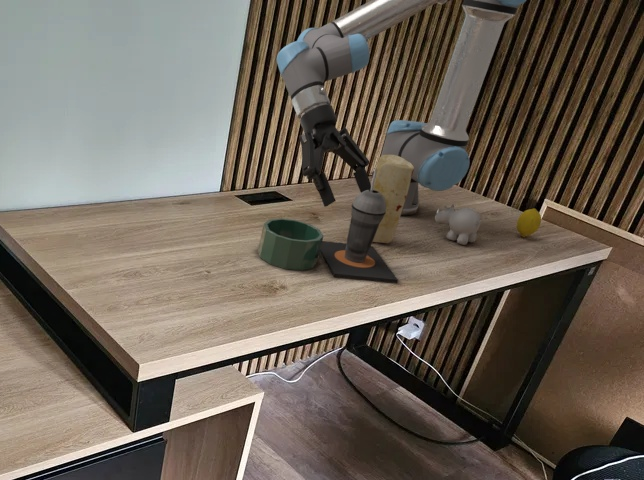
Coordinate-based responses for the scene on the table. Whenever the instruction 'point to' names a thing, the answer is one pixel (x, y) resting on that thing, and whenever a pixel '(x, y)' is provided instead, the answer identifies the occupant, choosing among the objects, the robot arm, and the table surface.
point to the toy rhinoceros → (460, 223)
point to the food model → (391, 192)
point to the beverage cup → (364, 223)
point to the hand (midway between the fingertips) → (350, 200)
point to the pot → (290, 244)
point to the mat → (355, 264)
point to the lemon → (528, 222)
